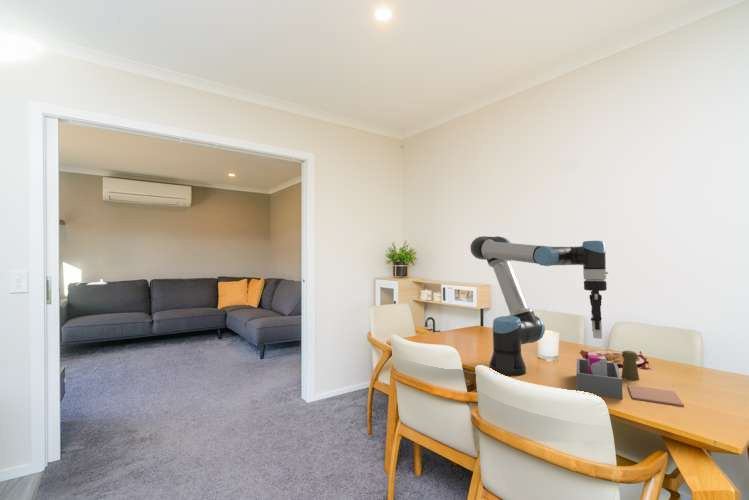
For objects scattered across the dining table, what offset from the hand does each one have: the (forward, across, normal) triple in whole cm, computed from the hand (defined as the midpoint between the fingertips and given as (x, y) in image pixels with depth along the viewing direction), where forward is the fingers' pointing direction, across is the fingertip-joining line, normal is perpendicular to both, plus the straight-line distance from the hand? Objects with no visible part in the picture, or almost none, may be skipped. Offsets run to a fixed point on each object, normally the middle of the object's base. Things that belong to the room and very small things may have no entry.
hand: (596, 334), depth 139 cm
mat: (+20, -2, -17) cm, 26 cm away
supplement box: (+20, 0, 0) cm, 20 cm away
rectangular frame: (+20, 0, 0) cm, 20 cm away
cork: (+20, +17, -12) cm, 29 cm away
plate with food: (+21, +43, -9) cm, 49 cm away
